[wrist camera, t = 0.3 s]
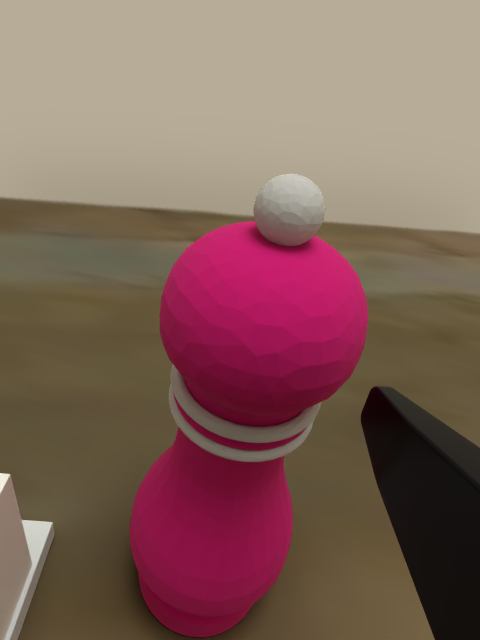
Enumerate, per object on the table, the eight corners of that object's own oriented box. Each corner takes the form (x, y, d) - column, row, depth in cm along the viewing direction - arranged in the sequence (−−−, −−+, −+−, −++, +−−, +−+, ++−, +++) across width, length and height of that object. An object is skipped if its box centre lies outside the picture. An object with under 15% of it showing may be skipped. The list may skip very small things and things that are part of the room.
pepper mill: (218, 693, 17) (412, 292, 6) (95, 582, 20) (68, 150, 9) (292, 551, 23) (470, 195, 11) (188, 477, 25) (248, 125, 14)
